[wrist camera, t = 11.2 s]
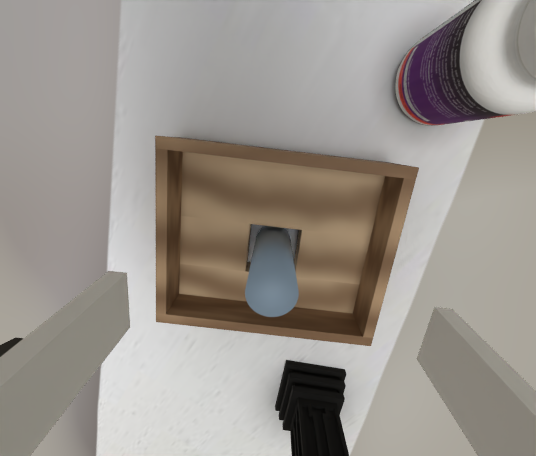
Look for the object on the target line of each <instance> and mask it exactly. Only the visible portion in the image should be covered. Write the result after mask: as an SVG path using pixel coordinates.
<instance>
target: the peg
mask: <svg viewBox="0 0 536 456" xmlns="http://www.w3.org/2000/svg"><path fill="white" fill-rule="evenodd" d="M298 296H299V291H298V284H297V278H296V272H295V265H294V259H293V253H292V246H291V240H290V235H289V233H288V231H287V230H286V229H285V228H281V227H272V226H264V227H263V228H261V229H260V230H259V232H258V234H257V236H256V241H255V246H254V250H253V255H252V260H251V265H250V269H249V274H248V279H247V284H246V289H245V297H246V301H247V303H248V305H249V306H250V307H251V308H252V309H253V310H254V311H255V312H256V313H258V314H260V315H263V316H267V317H278V316H282V315H284V314H286V313H288V312H289V311H291V310H292V309H293V307H294V306H295V305H296V303H297V300H298Z"/></svg>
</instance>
